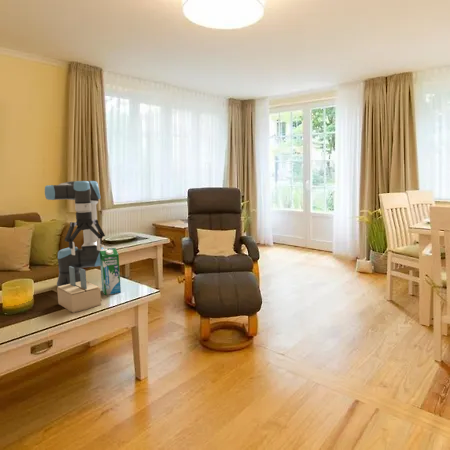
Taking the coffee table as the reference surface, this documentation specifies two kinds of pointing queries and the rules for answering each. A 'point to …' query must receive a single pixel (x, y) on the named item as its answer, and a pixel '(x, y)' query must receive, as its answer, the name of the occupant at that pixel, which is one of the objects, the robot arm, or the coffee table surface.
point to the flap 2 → (85, 282)
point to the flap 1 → (71, 284)
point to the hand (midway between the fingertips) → (86, 252)
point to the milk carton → (110, 271)
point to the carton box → (79, 299)
